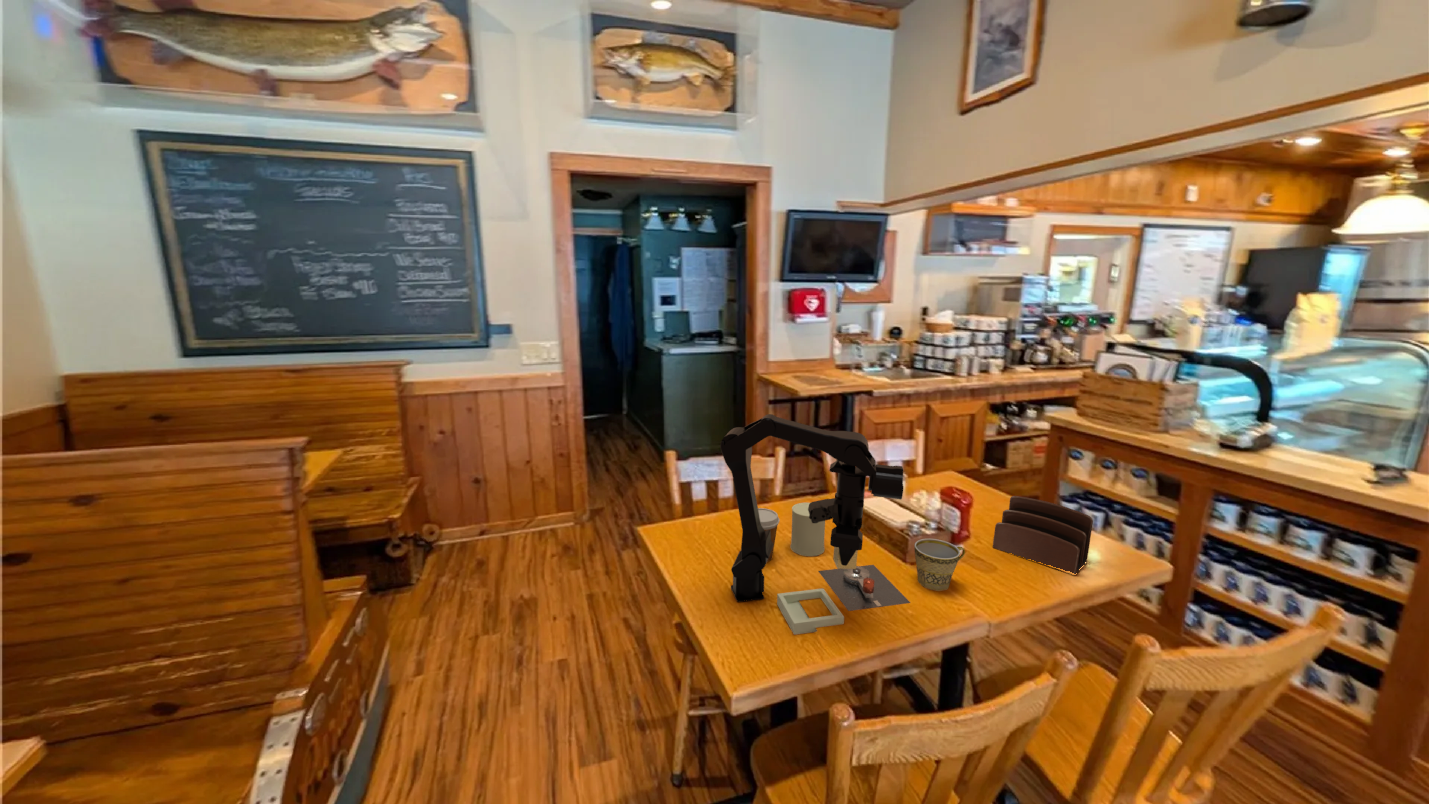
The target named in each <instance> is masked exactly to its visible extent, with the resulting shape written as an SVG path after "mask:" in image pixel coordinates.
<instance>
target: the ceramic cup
mask: <svg viewBox="0 0 1429 804" xmlns="http://www.w3.org/2000/svg"><path fill="white" fill-rule="evenodd" d="M913 546H914V548H913V549H914V556H915V557H914V558H915V564H916V572H917V583H919V584H920V585H921V586H922V587H924V588H925V589H927V590H931V591H937V592H941V591H946V590H948V589H949V587H950V584H951V581H952V579H953V578H952V577H953V575H954V572H955V569H956V567H957V566H958V562H959V561H961V560H962V558H963V557H964V556H965V555H966V550H965V548H964V547H962V546H956V545H955V544H953V543H950V542H948V541H946V540H943V539H942V540H941V539H938V538H922V539H919V540H917V541H916V542H914V545H913ZM961 551H962V553H961Z"/></svg>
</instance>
